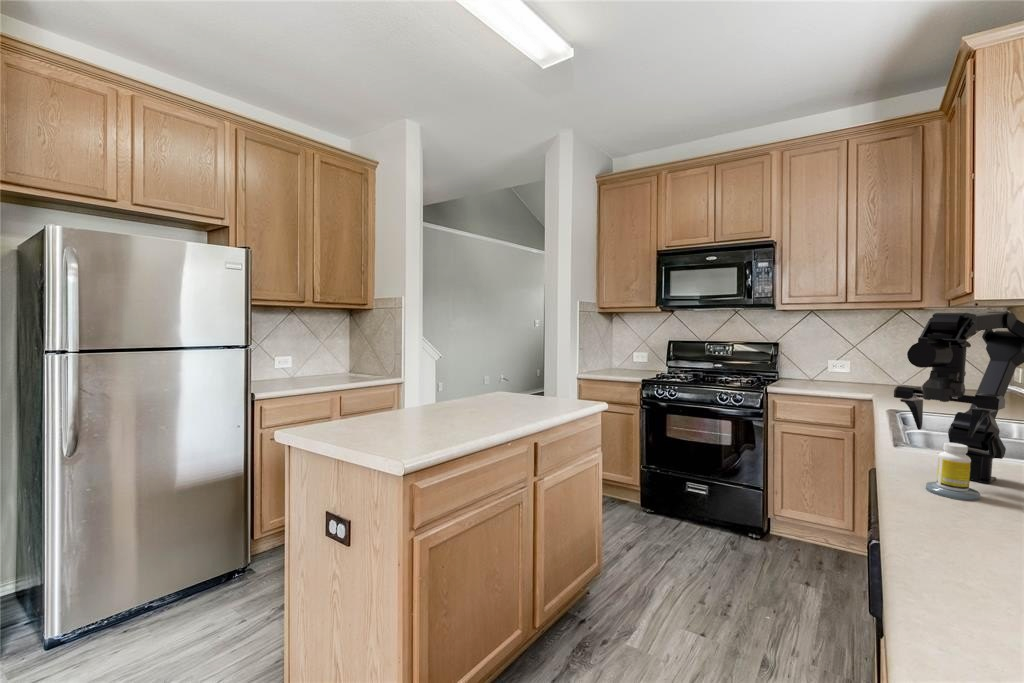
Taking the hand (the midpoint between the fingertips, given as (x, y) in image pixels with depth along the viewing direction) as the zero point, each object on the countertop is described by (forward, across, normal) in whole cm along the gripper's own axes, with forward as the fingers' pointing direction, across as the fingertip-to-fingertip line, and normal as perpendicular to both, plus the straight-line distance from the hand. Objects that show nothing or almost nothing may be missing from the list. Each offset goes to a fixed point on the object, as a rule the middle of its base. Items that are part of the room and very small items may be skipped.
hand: (943, 433), depth 115 cm
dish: (+12, +4, -6) cm, 14 cm away
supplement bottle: (+11, +4, -5) cm, 13 cm away
